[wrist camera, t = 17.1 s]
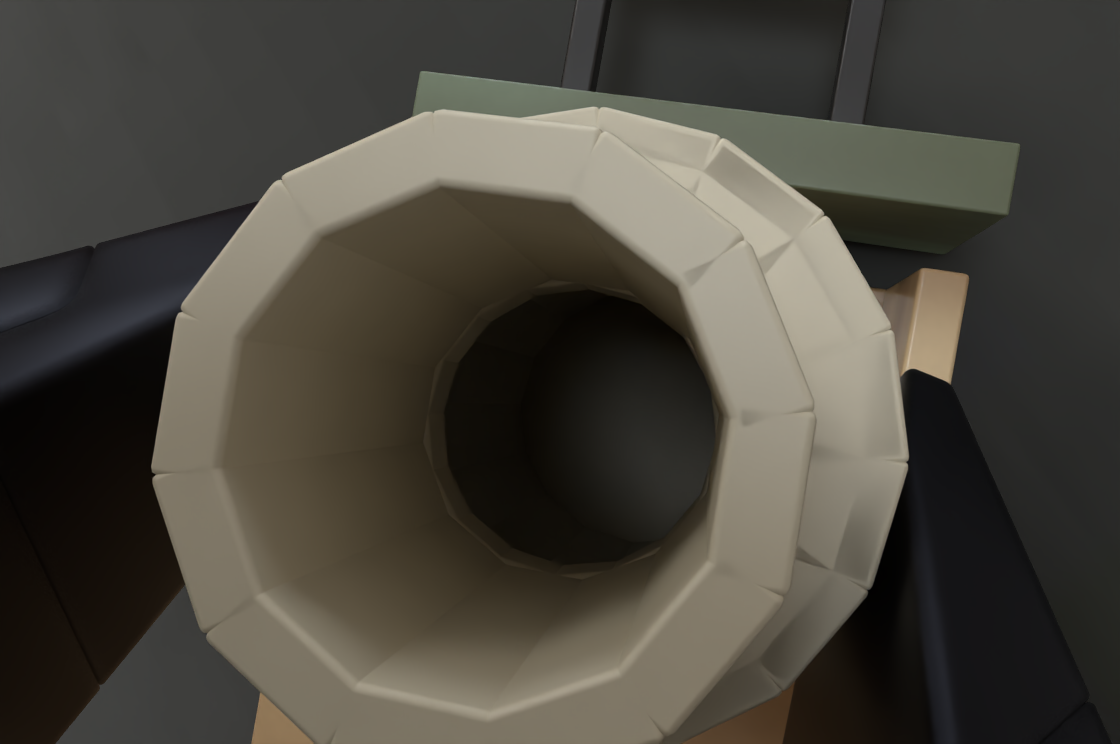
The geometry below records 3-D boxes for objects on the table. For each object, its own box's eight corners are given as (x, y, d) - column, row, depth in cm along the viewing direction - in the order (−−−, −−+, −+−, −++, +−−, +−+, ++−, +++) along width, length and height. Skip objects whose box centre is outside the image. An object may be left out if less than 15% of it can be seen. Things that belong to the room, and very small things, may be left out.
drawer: (512, -72, 20) (464, -187, 16) (995, -28, 18) (1073, -144, 14) (381, 669, 20) (301, 734, 16) (851, 782, 18) (890, 887, 14)
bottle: (666, 615, 16) (540, 1286, 4) (455, 434, 16) (-216, 510, 4) (850, 395, 15) (1363, 358, 3) (625, 220, 16) (391, -318, 4)
